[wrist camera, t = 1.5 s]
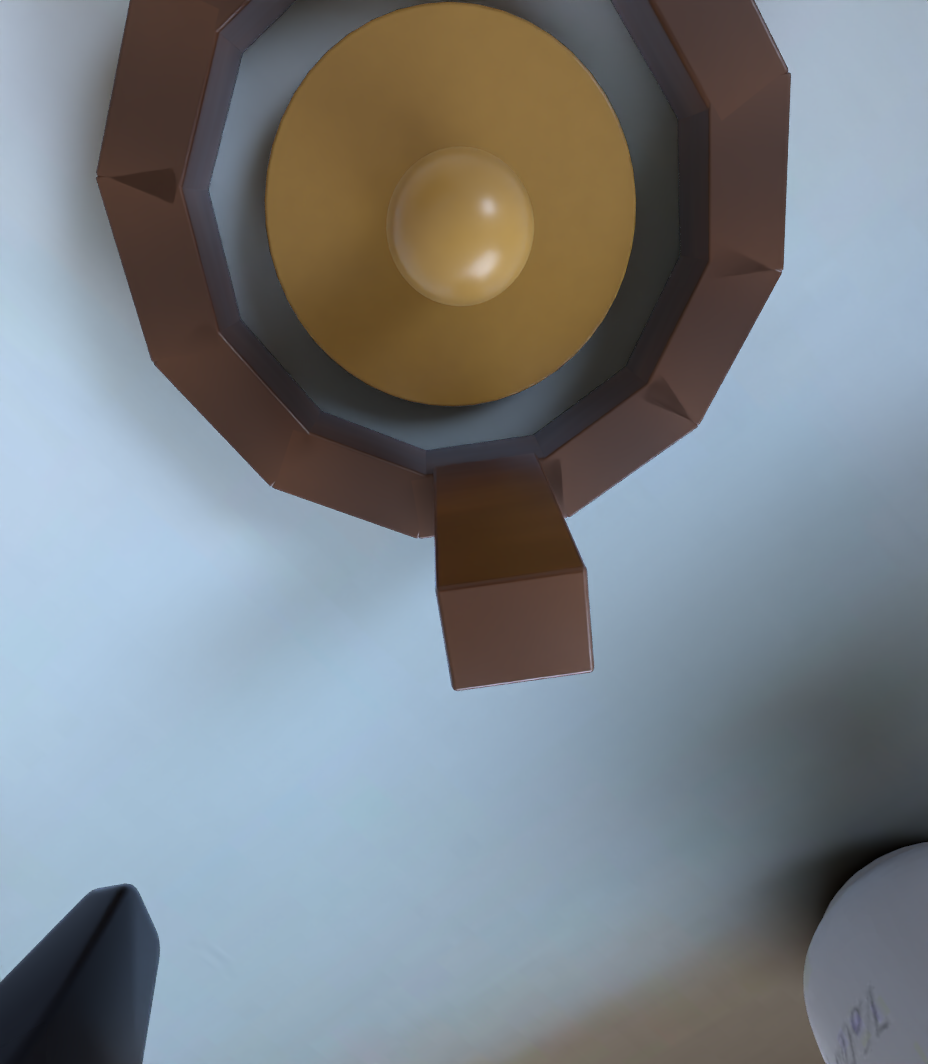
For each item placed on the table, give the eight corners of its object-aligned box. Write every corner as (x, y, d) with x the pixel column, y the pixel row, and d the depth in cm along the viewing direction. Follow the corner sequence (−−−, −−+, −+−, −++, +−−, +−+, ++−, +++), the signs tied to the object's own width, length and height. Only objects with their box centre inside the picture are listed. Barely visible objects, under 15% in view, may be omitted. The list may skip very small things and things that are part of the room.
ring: (756, -215, 14) (1119, -685, 7) (742, 470, 19) (931, 627, 12) (49, -106, 14) (-358, -444, 7) (235, 542, 20) (121, 739, 12)
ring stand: (616, -15, 15) (736, -156, 9) (632, 373, 18) (729, 449, 12) (231, 43, 15) (108, -60, 9) (315, 418, 18) (263, 516, 13)
